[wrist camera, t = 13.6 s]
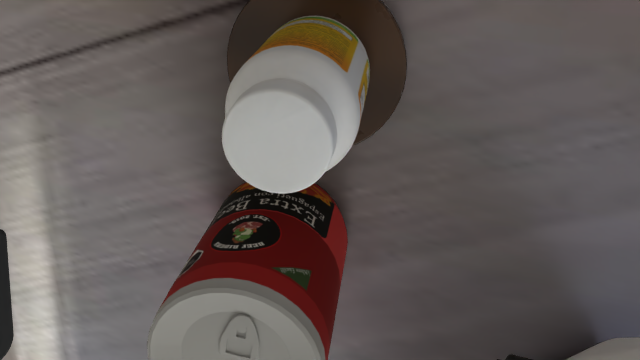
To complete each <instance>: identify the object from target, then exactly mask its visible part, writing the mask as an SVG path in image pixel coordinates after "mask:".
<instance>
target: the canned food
mask: <svg viewBox="0 0 640 360" xmlns="http://www.w3.org/2000/svg"><path fill="white" fill-rule="evenodd" d="M347 243H348V241H347V230H346V227H345V223H344V220H343V217H342V215H341V212H340V210H339V208H338V207H337V205H336V203H335V202H334V200H333V199H332V198H331V197H330V196H329V194H328V193H327V192H326V191H324V190H323V189H322V188H321V187H320V186H318V185H317V184H315V183H314V184H312V185H311V186H309V187H307V188H305V189H303V190H301V191H297V192H293V193H286V194H280V193H271V192H267V191H263V190H261V189H258V188H256V187H254V186H252V185H250V184H249V183H247V182H246V183H244V184H242V185H240V186H239V187H238V188H237V189H235V190H234V191H233V192H232V193H231V194H230V195H229V196H228V198H227V199H226V200H225V201H224V203H223V205H222V206H221V208H220V209H219V211H218V213H217V214H216V216H215V218H214V219H213V221H212V222H211V224H210V226H209V227H208V229H207V231H206V232H205V234H204V235H203V237H202V239H201V240H200V242H199V243H198V245H197V247H196V248H195V250H194V252H193V253H192V255H191V256H190V258H189V260H188V261H187V263H186V265H185V266H184V268H183V269H182V271H181V273H180V274H179V276H178V278H177V279H176V281H175V282H174V284H173V286H172V287H171V289H170V291H169V292H168V294H167V296H166V298H165V300H164V301H163V303H162V305H161V306H160V308H159V310H158V312H157V314H156V316H155V318H154V321H153V324H152V326H151V328H150V331H149V336H148V341H147V349H148V359H149V360H328V355H329V349H330V343H331V338H332V332H333V326H334V320H335V314H336V309H337V303H338V297H339V291H340V286H341V280H342V274H343V268H344V262H345V257H346V250H347Z"/></svg>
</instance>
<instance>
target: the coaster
mask: <svg viewBox="0 0 640 360" xmlns="http://www.w3.org/2000/svg"><path fill="white" fill-rule="evenodd" d="M305 16H323V17H328V18H331V19H334V20H336V21H338V22H340V23H342V24H343V25H345V26H346V27H348V28H349V29H350V30H351V31H352V32H353V33H354V34H355V35H356V36H357V37H358V38H359V40H360V41H361V43H362V44H363V46H364V48H365V50H366V53H367V56H368V60H369V66H370V78H369V85H368V90H367V94H366V99H365V103H364V108H363V112H362V116H361V121H360V125H359V130H358V133H357V135H356V138H355V141H354V143H353V145H355V144H357V143H359V142H362V141H363V140H365V139H367V138H368V137H370V136H371V135H373V134H374V133H375V132H376V131H377V130H379V129H380V128H381V127H382V126H383V125H384V123H385V122H386V121H387V120H388V119H389V118H390V116H391V115H392V113H393V112H394V110H395V108H396V106H397V104H398V102H399V100H400V98H401V95H402V92H403V89H404V84H405V79H406V67H407V62H406V50H405V45H404V40H403V37H402V34H401V32H400V29H399V27H398V25H397V23H396V21H395V19H394V17H393V16H392V14H391V13H390V11H389V10H388V8H387V7H386V6H385V5H384V4H383V3H382V1H381V0H250V1H249V2H248V3H247V4H246V5H245V7H244V8H243V10H242V11H241V13H240V14H239V16H238V18H237V20H236V22H235V24H234V26H233V29H232V32H231V35H230V39H229V44H228V51H227V66H228V74H229V79H230V83H231V82H232V80H233V78H234V77H235V75H236V74H237V72H238V71H239V70H240V68H241V67H242V66H243V65H244V64H245V62H246V61H247V60H248V59H249V58H250V57H251V56H252V55H253V54H254V53H255V52H256V51H257V50H258V49H259V48H260V47H261V46H262V45H263V44H264V43H265V42H266V41H267V40H268V38H269V37H270V36H271V35H272V34H273V33H274V32H275V31H276V30H277V29H279V28H280V27H281V26H283V25H284V24H286V23H288V22H289V21H292V20H294V19H297V18H300V17H305ZM353 145H352V146H353Z"/></svg>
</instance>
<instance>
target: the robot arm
mask: <svg viewBox="0 0 640 360" xmlns="http://www.w3.org/2000/svg"><path fill="white" fill-rule="evenodd" d="M12 341H13V322H12V308H11V294H10V280H9V267H8V253H7V239H6V233H5V232H4V231H3V230H1V229H0V360H1V359H2V358H3V357H4V356H5V355H6V353H7V352H8V350H9V349H10V347H11V344H12ZM497 360H499V359H497ZM505 360H532V359H528V358H524V357H520V356H516V355H513V354H510V355H508V356H507V358H506V359H505Z"/></svg>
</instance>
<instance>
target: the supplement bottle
mask: <svg viewBox="0 0 640 360" xmlns="http://www.w3.org/2000/svg"><path fill="white" fill-rule="evenodd" d="M369 78H370V66H369V60H368V56H367V53H366V50H365V48H364V46H363V44H362V43H361V41H360V40H359V38H358V37H357V36H356V35H355V34H354V33H353V32H352V31H351V30H350V29H349V28H348V27H346V26H345V25H343V24H342V23H340V22H338V21H336V20H334V19H331V18H328V17H323V16H305V17H300V18H297V19H294V20H292V21H289V22H288V23H286V24H284V25H283V26H281V27H280V28H279V29H277V30H276V31H275V32H274V33H273V34H272V35H271V36H270V37H269V38H268V40H267V41H266V42H265V43H264V44H263V45H262V46H261V47H260V48H259V49H258V50H257V51H256V52H255V53H254V54H253V55H252V56H251V57H250V58H249V59H248V60H247V61H246V62H245V64H244V65H243V66H242V67H241V68H240V70H239V71H238V72H237V74H236V75H235V77H234V78H233V80H232V82H231V84H230V86H229V89H228V92H227V96H226V102H225V120H224V124H223V128H222V145H223V149H224V153H225V155H226V158H227V160H228V162H229V164H230V165H231V167H232V168H233V169H234V171H235V172H236V173H237V174H238V175H239V176H240V177H241V178H242V179H243V180H245V181H246V182H247V183H249V184H250V185H252V186H254V187H256V188H258V189H261V190H263V191H267V192H271V193H280V194H286V193H293V192H297V191H301V190H303V189H305V188H307V187H309V186H311V185H312V184H314V183H315V182H316V181H317V180H319V179H320V178H321V176H322V175H323V174H324V173H325V172H326V171H328V170H329V169H331V168H332V167H334V166H335V165H336V164H338V163H339V162H340V161H341V160H342V159H343V158H344V157H345V155H346V154H347V153H348V151H349V150H350V148H351V147H352V145H353V143H354V141H355V138H356V135H357V133H358V130H359V125H360V121H361V116H362V112H363V108H364V103H365V99H366V94H367V90H368V85H369Z"/></svg>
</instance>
